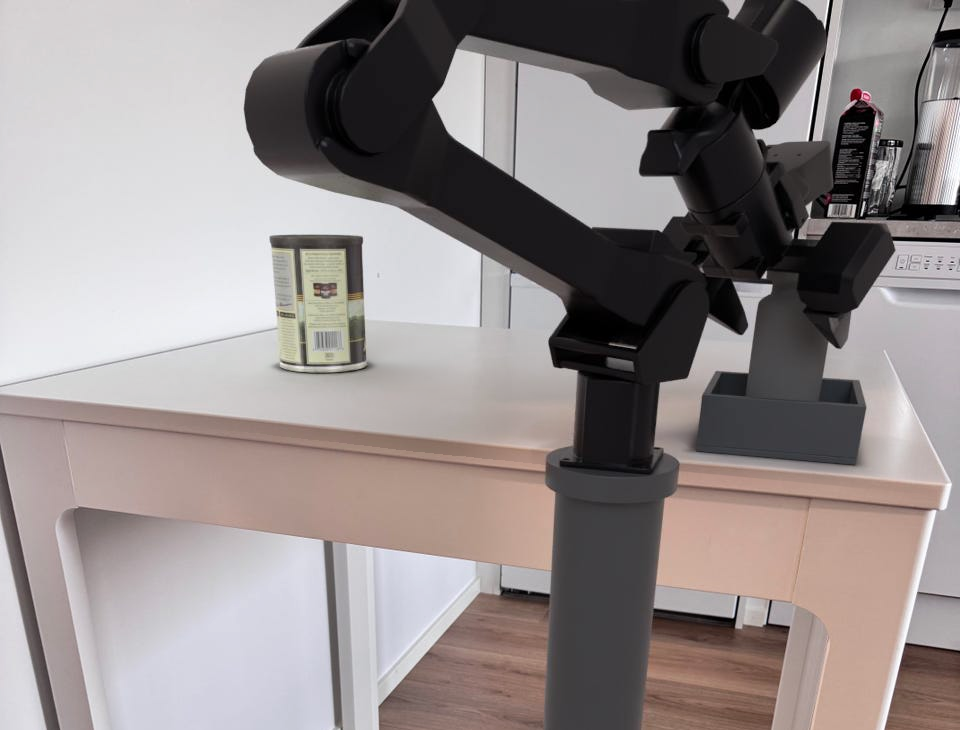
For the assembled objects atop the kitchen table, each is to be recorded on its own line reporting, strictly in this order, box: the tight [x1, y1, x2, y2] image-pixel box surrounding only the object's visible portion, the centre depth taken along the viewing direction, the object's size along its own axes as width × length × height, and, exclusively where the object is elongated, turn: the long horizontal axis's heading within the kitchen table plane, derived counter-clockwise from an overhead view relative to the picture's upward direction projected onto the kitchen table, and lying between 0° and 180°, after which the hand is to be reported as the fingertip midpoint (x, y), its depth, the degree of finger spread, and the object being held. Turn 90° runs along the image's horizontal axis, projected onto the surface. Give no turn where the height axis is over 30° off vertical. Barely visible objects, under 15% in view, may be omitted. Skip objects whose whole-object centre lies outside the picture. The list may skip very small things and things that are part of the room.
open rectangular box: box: [695, 370, 867, 466], centre depth 79 cm, size 12×12×4 cm
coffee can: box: [269, 234, 368, 374], centre depth 108 cm, size 10×10×14 cm
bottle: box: [746, 271, 830, 402], centre depth 77 cm, size 6×6×15 cm
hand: (791, 337), depth 76 cm, fingers open, 9 cm apart
